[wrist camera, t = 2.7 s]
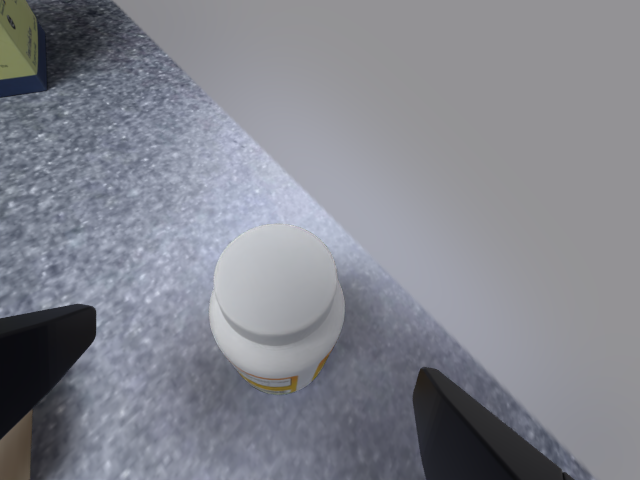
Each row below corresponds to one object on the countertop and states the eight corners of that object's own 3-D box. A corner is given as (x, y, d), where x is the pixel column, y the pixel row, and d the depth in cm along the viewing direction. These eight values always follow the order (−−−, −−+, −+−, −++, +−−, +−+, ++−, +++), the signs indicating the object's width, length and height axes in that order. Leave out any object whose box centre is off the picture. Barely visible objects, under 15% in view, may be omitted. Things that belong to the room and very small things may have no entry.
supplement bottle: (302, 287, 20) (312, 187, 12) (344, 365, 18) (392, 308, 10) (220, 324, 19) (167, 238, 10) (256, 416, 16) (223, 400, 8)
